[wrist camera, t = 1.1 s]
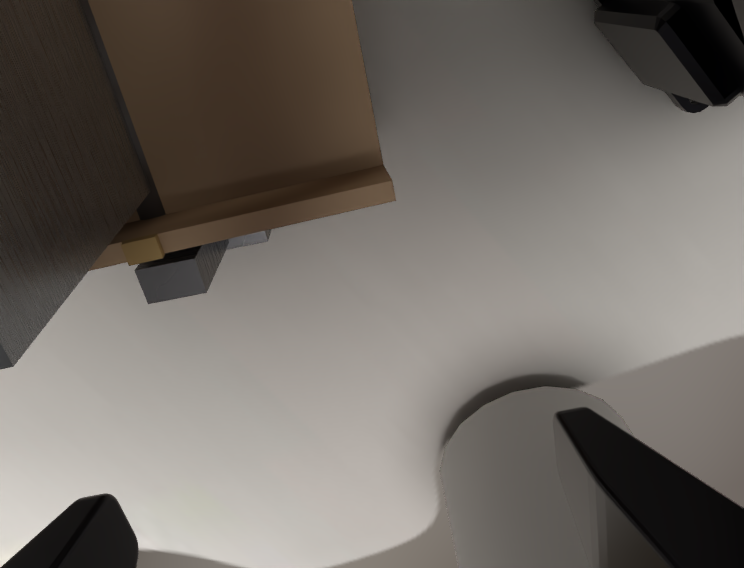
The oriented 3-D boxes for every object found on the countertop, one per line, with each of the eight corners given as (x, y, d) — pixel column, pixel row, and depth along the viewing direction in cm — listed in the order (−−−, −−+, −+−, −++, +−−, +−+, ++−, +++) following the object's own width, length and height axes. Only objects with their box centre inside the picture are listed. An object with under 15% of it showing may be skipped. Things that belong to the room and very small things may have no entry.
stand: (150, -182, 15) (84, -239, 11) (270, 232, 20) (252, 290, 16) (-2, -145, 15) (-118, -190, 12) (153, 255, 20) (107, 318, 16)
